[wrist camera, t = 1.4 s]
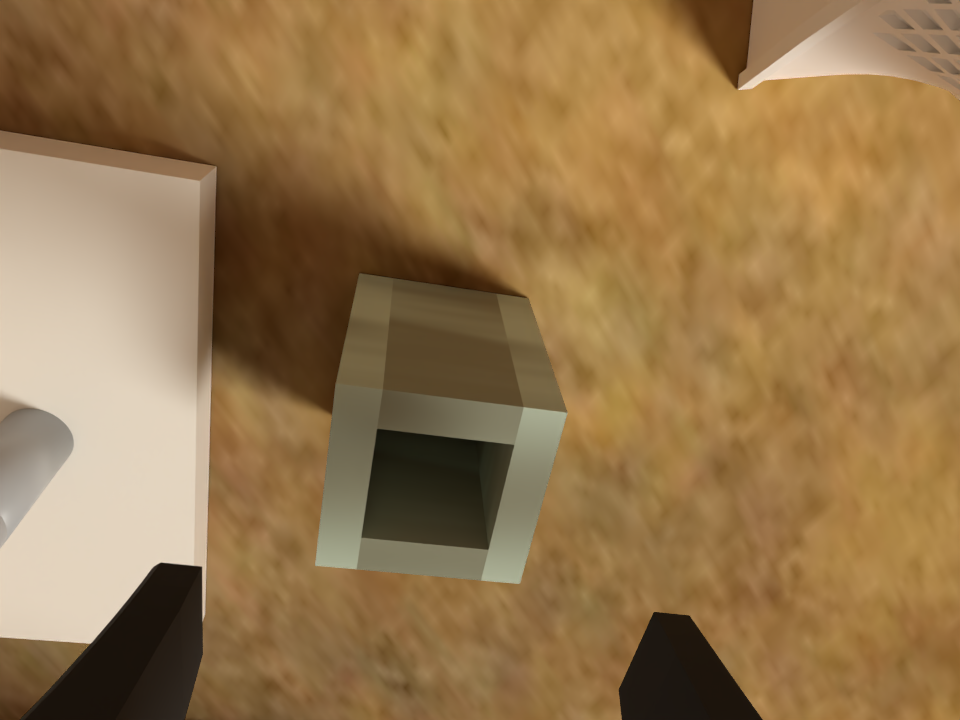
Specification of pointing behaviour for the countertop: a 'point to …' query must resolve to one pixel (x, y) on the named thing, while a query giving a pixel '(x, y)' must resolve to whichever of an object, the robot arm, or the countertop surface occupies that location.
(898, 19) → the skyscraper
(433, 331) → the square socket block
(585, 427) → the countertop surface
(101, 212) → the jig board
